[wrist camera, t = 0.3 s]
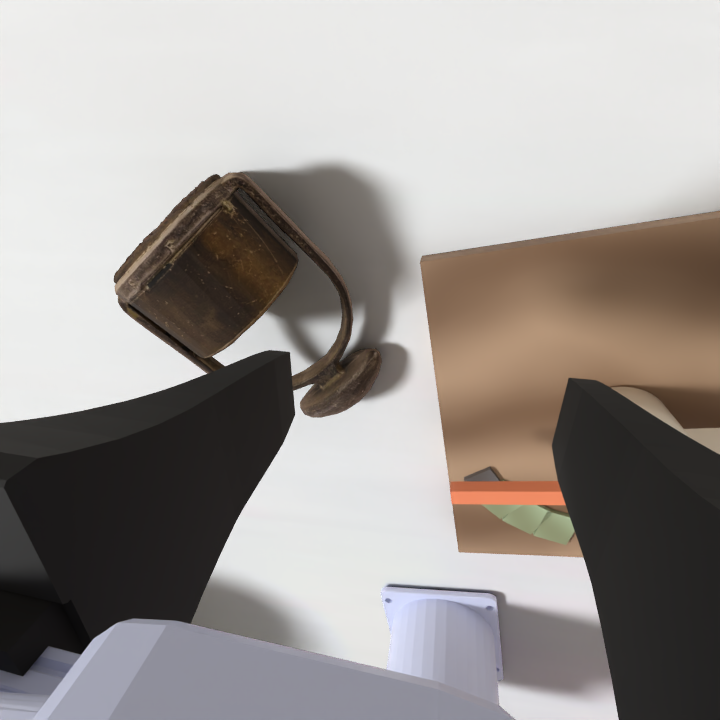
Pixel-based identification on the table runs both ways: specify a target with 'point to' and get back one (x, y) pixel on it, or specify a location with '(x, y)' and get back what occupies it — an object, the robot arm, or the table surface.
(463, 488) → the peg
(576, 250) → the board
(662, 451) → the robot arm
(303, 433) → the table surface
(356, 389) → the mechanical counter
